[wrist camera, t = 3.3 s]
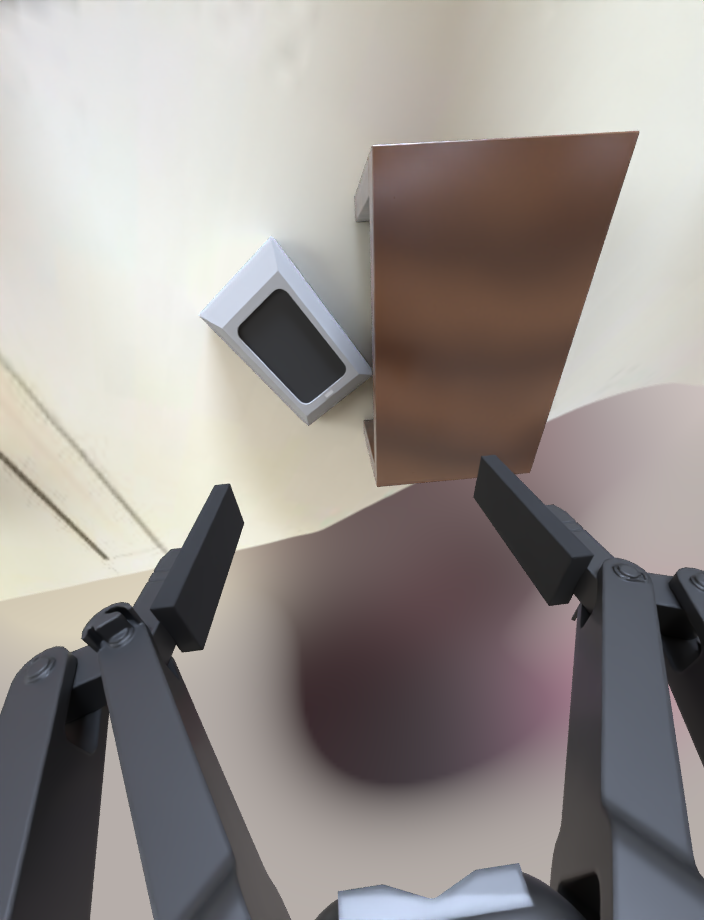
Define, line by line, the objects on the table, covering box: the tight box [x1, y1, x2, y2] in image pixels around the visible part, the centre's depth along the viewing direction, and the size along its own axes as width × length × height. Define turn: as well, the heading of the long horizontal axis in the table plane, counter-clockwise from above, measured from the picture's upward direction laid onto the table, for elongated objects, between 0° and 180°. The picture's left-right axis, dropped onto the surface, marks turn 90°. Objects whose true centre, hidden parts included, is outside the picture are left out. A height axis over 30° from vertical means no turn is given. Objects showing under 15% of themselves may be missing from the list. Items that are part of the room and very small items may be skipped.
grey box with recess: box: [199, 236, 373, 426], centre depth 30 cm, size 10×4×15 cm
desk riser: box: [355, 131, 639, 487], centre depth 27 cm, size 23×15×12 cm, turn 3°
